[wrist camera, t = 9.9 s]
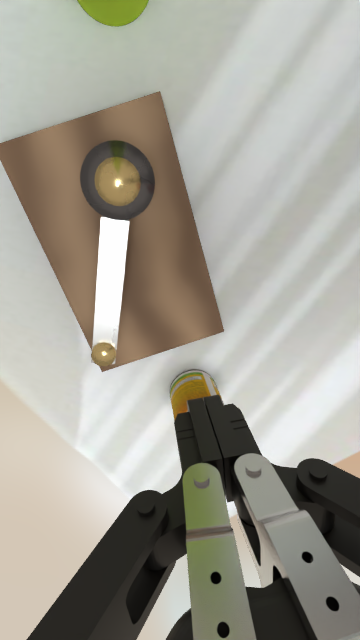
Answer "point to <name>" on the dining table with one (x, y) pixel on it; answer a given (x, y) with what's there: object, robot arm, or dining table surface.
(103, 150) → the bar
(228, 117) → the dining table surface
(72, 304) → the walnut stand
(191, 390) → the supplement bottle
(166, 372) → the dining table surface
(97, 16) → the soap dispenser
